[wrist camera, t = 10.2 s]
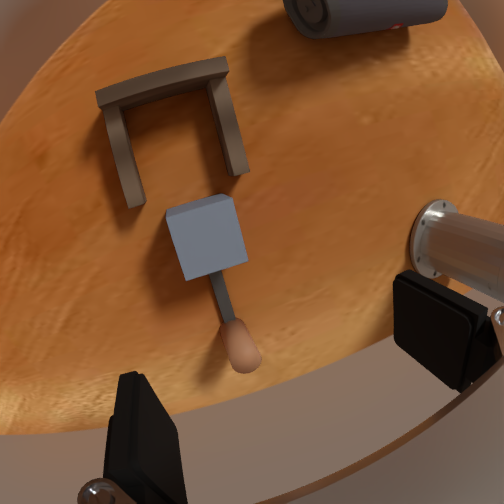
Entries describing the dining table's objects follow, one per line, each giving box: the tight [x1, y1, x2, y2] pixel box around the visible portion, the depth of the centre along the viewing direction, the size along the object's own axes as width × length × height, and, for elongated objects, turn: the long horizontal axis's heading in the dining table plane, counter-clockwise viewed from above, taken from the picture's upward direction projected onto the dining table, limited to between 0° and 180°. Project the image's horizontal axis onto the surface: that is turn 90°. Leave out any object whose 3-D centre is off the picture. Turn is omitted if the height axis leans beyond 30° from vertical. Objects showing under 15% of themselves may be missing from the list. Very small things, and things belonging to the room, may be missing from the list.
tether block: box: [166, 193, 262, 374], centre depth 31 cm, size 18×6×7 cm, turn 14°
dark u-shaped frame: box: [95, 56, 250, 209], centre depth 27 cm, size 12×12×5 cm
